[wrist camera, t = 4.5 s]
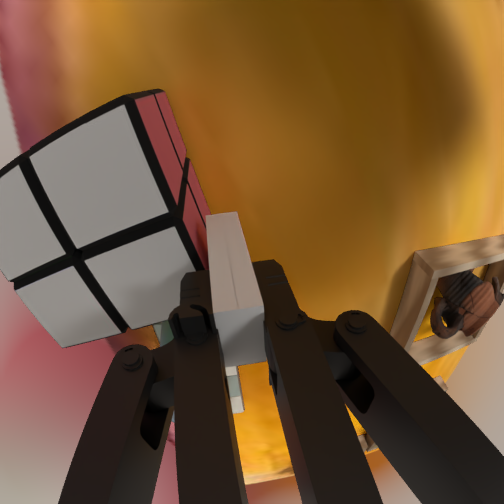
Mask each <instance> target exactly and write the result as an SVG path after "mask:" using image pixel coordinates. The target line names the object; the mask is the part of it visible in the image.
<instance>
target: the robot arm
mask: <svg viewBox="0 0 504 504" xmlns="http://www.w3.org/2000/svg"><path fill="white" fill-rule="evenodd" d="M206 229H207V244H208V258H209V270H201V271H194V272H187V273H185V275H184V277H183V278H182V280H181V282H180V305H179V306H177V307H176V308H174V309H173V310H172V312H171V313H170V314H169V317H168V322H169V325H170V328H171V331H172V333H173V336H174V338H173V339H172V340H171V341H170V342H169V343H167V344H165V345H163V346H161V347H158V348H156V349H153V350H149V349H148V348H147V347H146V346H142V345H139V344H137V345H129V346H127V347H124V348H123V349H121V350H120V351H118V352H117V354H116V355H115V357H114V358H113V360H112V363H111V365H110V367H109V369H108V372H107V374H106V376H105V378H104V381H103V383H102V385H101V388H100V390H99V392H98V395H97V397H96V400H95V402H94V404H93V407H92V409H91V412H90V414H89V417H88V419H87V422H86V425H85V427H84V430H83V432H82V435H81V437H80V440H79V443H78V446H77V448H76V451H75V454H74V457H73V459H72V462H71V465H70V468H69V471H68V474H67V477H66V480H65V483H64V486H63V489H62V492H61V496H60V499H59V502H58V504H151V503H152V499H153V495H154V490H155V486H156V482H157V477H158V473H159V468H160V464H161V460H162V456H163V452H164V448H165V444H166V440H167V436H168V432H169V428H170V424H171V420H172V416H173V412H174V422H175V448H176V465H177V481H178V493H179V504H248V499H247V494H246V489H245V483H244V478H243V472H242V466H241V461H240V455H239V449H238V443H237V437H236V431H235V425H234V418H233V412H232V406H231V399H230V392H229V385H228V379H227V375H226V369H225V368H226V367H233V366H240V365H246V364H252V363H258V362H264V361H267V360H268V364H269V385H272V388H273V392H274V396H275V400H276V404H277V408H278V411H279V415H280V419H281V423H282V427H283V431H284V435H285V439H286V443H287V447H288V450H289V454H290V458H291V462H292V466H293V470H294V473H295V477H296V481H297V485H298V489H299V492H300V496H301V500H302V504H383V502H382V499H381V497H380V494H379V491H378V488H377V486H376V483H375V480H374V478H373V475H372V472H371V470H370V467H369V465H368V462H367V459H366V457H365V454H364V451H363V449H362V446H361V444H360V441H359V439H358V436H357V433H356V431H355V428H354V426H353V423H352V421H351V418H350V416H349V413H348V411H347V408H346V406H345V404H346V405H347V407H348V408H349V409H350V411H351V412H352V413H353V415H354V416H355V417H356V419H357V420H358V421H359V423H360V424H361V425H362V427H363V428H364V429H365V431H366V432H367V433H368V435H369V436H370V437H371V439H372V440H373V441H374V442H375V444H376V445H377V446H378V448H379V449H380V450H381V451H382V453H383V454H384V456H385V457H386V458H387V459H388V461H389V462H390V463H391V465H392V466H393V467H394V468H395V470H396V471H397V472H398V474H399V475H400V476H401V477H402V479H403V480H404V481H405V483H406V484H407V485H408V487H409V488H410V489H411V490H412V492H413V493H414V494H415V495H416V497H417V498H418V499H419V501H420V502H421V503H422V504H504V456H503V455H502V454H501V453H500V452H499V450H498V449H497V448H496V447H495V446H494V445H493V444H492V442H491V441H490V440H489V439H488V438H487V437H486V436H485V434H484V433H483V432H482V431H481V430H480V429H479V428H478V427H477V426H476V425H475V423H474V422H473V421H472V420H471V419H470V418H469V417H468V416H467V415H466V414H465V412H464V411H463V410H462V409H461V408H460V407H459V406H458V405H457V404H456V403H455V402H454V400H453V399H452V398H451V397H450V396H449V395H448V394H447V393H446V392H445V391H444V390H443V389H442V388H441V387H440V386H439V384H438V383H437V382H436V381H435V380H434V379H433V378H432V377H431V376H430V375H429V374H428V373H427V372H426V371H425V370H424V369H423V368H422V367H421V366H420V365H419V364H418V363H417V362H416V361H415V360H414V358H413V357H412V356H411V355H410V354H409V353H408V352H407V351H406V350H405V349H404V348H403V347H402V346H401V345H400V344H399V343H398V342H397V341H396V340H395V339H394V338H393V337H392V336H391V335H390V334H389V333H388V332H387V331H386V330H385V329H384V328H383V327H382V326H381V325H380V324H379V323H378V322H377V321H376V320H375V319H374V318H373V317H371V316H370V315H369V314H367V313H365V312H362V311H359V310H350V311H346V312H343V313H342V314H340V315H339V316H338V318H337V319H336V321H321V320H315V319H312V318H310V317H308V316H307V315H306V313H305V312H303V311H301V310H300V308H299V306H298V304H297V302H296V299H295V297H294V294H293V292H292V290H291V287H290V285H289V283H288V280H287V278H286V276H285V273H284V271H283V268H282V266H281V265H280V264H279V263H277V262H276V261H275V260H274V259H272V260H265V261H258V262H251V259H250V256H249V252H248V249H247V245H246V242H245V238H244V235H243V231H242V228H241V224H240V221H239V217H238V214H237V211H236V212H228V213H220V214H213V215H206ZM266 357H267V360H266Z"/></svg>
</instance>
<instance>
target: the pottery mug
mask: <svg viewBox="0 0 504 504" xmlns="http://www.w3.org/2000/svg"><path fill="white" fill-rule="evenodd" d="M474 269H475V268H473V269H469V270H466V271H462V272H458V273H455V274H451V275H447V276H443V277H441V278H440V279H439V280H438V282H437V284H436V285H437V287H438V288H439V290H440V292H441V294H442V296H443V297H436V298H435V299H434V306H435V307H434V309H433V310H432V312H431V317H430V323H431V327H432V332H433V333H435V334H436V335H437V336H438V337H439V338H442V339H448V338H450V337H452V336H454V335H455V334H456V333H457V332H458V331H462V332H463V333H464V335H465V336H466V337H468V336H471V335H472V334H474V333H475V332H477V331H478V330H479V329H480V328H481V327H482V326H483V325H484V324H485V323H486V322H487V321H488V320H489V319H490V318H491V317H492V316H493V314H494V313H495V312H496V310H497V309H498V307H499V306H500V305H501V303H502V301H503V299H504V294H502V293H501V292H500V285H499V280H498V277H493V278H492V284H491V283H490V282H488V281H486V282H483V281H482V280H481V279H480V278H478V277H477V276H476V275H474V274H473V273H472V272H473V270H474ZM441 316H442V317H443V319H444V321H445V322H446V324H447V327H446V326H444V324H443V323H442V317H441Z"/></svg>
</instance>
